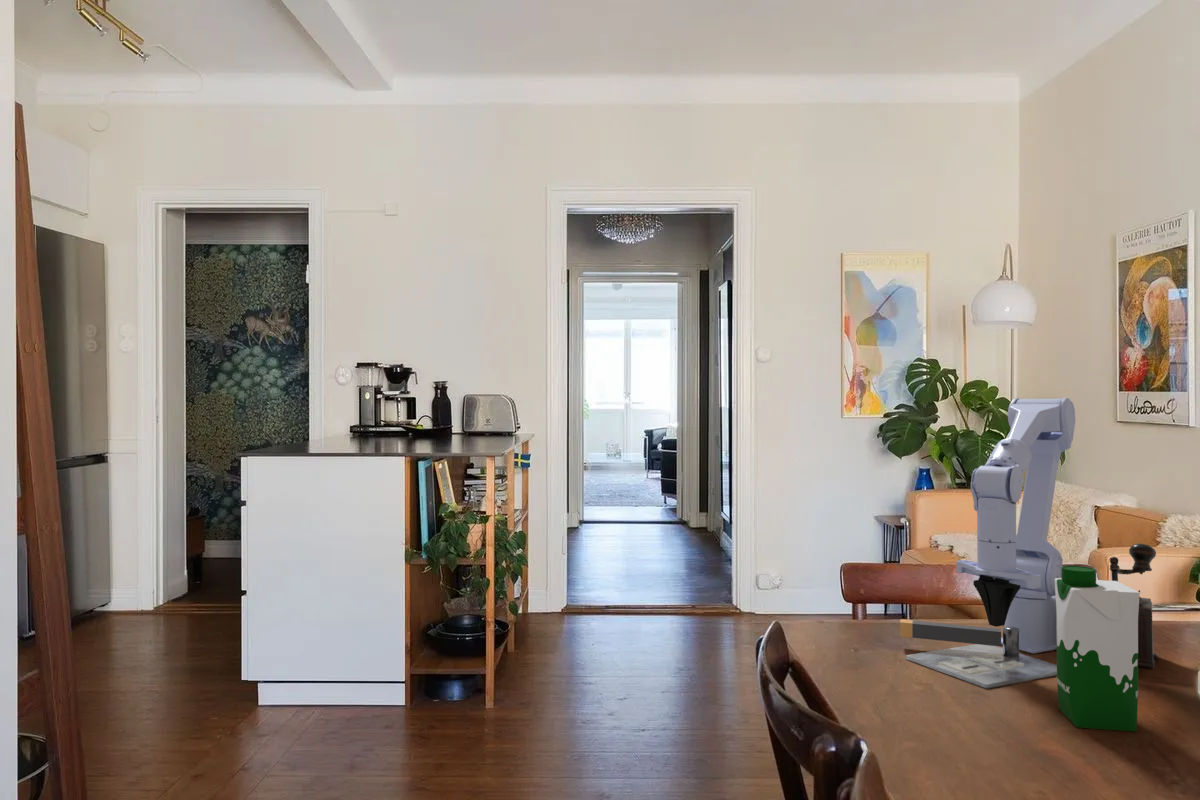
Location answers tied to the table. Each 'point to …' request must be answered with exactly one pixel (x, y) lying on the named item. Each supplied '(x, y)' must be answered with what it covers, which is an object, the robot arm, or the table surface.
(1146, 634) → the manual coffee grinder
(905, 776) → the table surface
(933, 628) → the swing arm
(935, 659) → the tray base
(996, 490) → the robot arm
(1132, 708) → the milk carton
